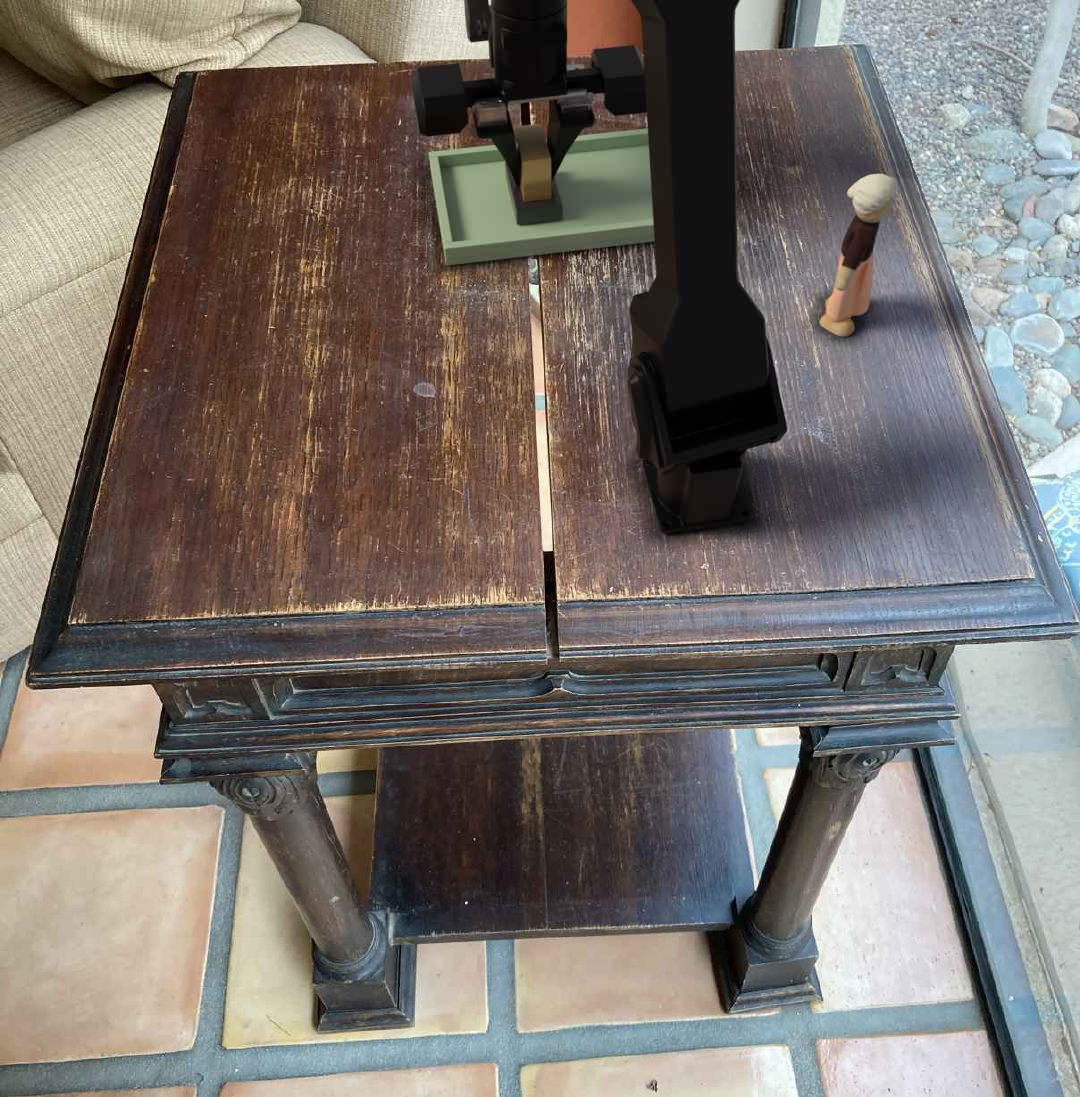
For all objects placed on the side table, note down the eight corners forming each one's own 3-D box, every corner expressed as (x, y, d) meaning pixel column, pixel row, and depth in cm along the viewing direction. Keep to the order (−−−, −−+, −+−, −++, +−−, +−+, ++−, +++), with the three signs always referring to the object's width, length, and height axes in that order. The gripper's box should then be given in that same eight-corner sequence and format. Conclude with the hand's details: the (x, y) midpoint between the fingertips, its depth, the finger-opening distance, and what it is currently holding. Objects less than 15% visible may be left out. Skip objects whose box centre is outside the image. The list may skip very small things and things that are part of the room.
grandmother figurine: (864, 348, 82) (908, 212, 72) (814, 342, 82) (851, 206, 72) (866, 283, 86) (908, 146, 76) (819, 278, 87) (854, 141, 76)
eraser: (562, 220, 90) (562, 164, 86) (516, 225, 90) (514, 169, 86) (549, 171, 94) (548, 115, 90) (505, 176, 94) (502, 120, 90)
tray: (696, 236, 90) (698, 219, 88) (446, 265, 88) (444, 248, 87) (660, 143, 98) (662, 126, 96) (430, 169, 96) (428, 151, 95)
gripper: (629, -63, 83) (620, 117, 96) (395, -40, 82) (417, 139, 95) (660, 9, 77) (646, 190, 90) (407, 34, 76) (429, 215, 88)
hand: (533, 181), depth 91 cm, fingers closed on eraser, 2 cm apart
